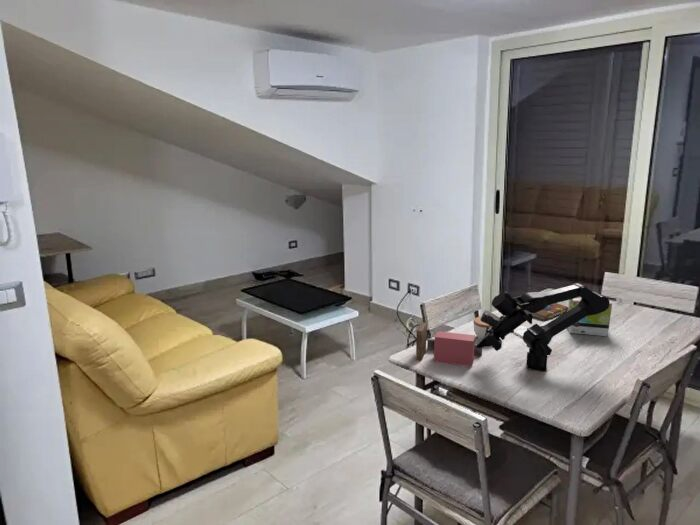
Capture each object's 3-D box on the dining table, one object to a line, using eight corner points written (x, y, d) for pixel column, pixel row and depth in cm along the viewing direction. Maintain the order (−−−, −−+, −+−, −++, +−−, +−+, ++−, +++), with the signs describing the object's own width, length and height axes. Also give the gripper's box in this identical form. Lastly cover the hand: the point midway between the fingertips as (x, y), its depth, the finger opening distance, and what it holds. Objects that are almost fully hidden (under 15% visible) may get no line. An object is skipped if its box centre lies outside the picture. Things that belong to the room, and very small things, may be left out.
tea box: (569, 334, 218) (573, 300, 214) (566, 325, 227) (569, 293, 223) (608, 336, 214) (612, 303, 211) (603, 328, 224) (606, 295, 220)
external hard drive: (526, 341, 212) (507, 331, 223) (542, 338, 214) (522, 328, 226) (526, 338, 211) (507, 327, 223) (542, 335, 214) (523, 325, 225)
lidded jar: (489, 345, 207) (490, 323, 205) (467, 337, 215) (468, 316, 213) (504, 338, 214) (506, 317, 211) (483, 331, 222) (484, 310, 219)
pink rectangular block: (473, 360, 194) (475, 335, 192) (472, 366, 189) (473, 341, 186) (436, 355, 199) (437, 331, 196) (433, 361, 193) (434, 336, 191)
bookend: (482, 354, 199) (483, 325, 196) (478, 368, 187) (480, 337, 184) (423, 347, 206) (423, 318, 203) (416, 360, 194) (416, 330, 192)
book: (573, 312, 247) (575, 302, 246) (544, 324, 233) (545, 313, 231) (543, 302, 260) (544, 292, 258) (513, 312, 245) (514, 302, 244)
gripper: (496, 297, 192) (465, 322, 198) (493, 313, 175) (459, 339, 181) (517, 319, 191) (485, 343, 198) (516, 337, 174) (480, 363, 180)
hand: (477, 346), depth 189 cm, fingers closed
